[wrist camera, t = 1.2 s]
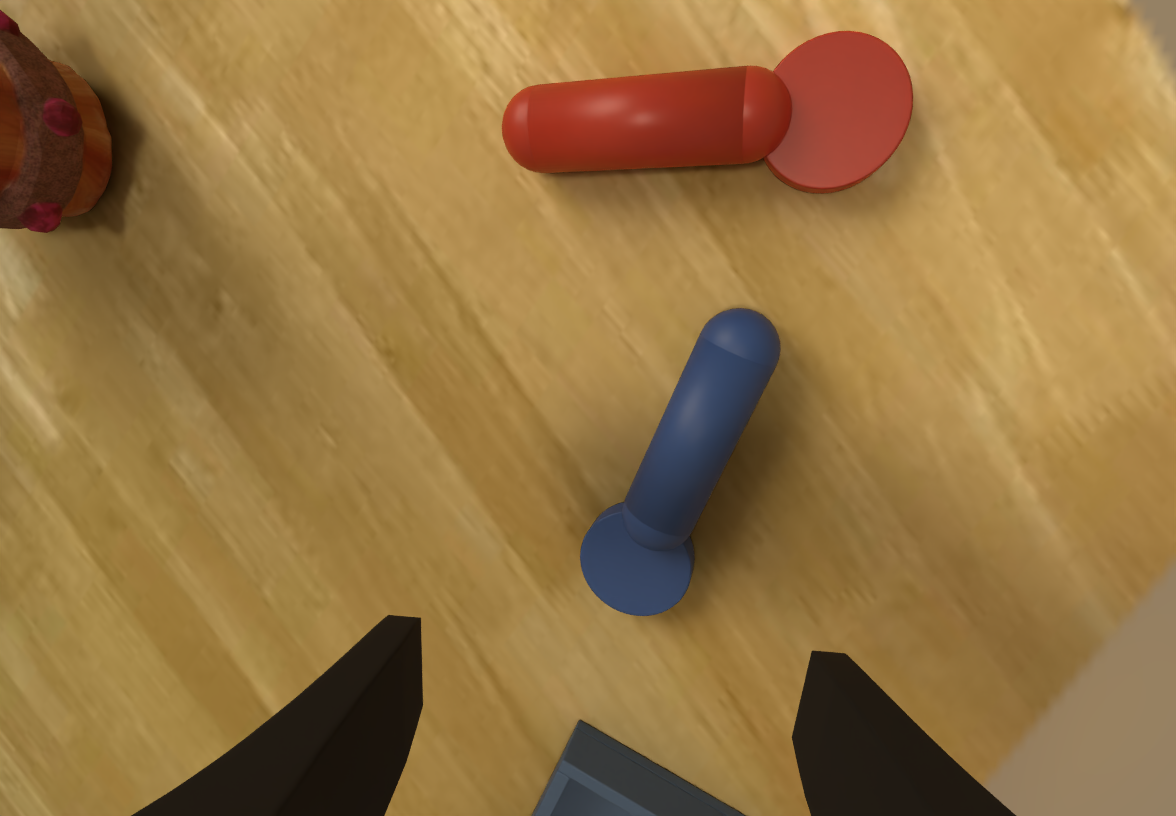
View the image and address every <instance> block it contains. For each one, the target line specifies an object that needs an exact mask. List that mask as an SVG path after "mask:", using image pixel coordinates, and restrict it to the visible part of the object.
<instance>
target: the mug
mask: <svg viewBox="0 0 1176 816" xmlns="http://www.w3.org/2000/svg"><path fill="white" fill-rule="evenodd" d="M111 170H112V145H111V136H110V133H109V131H108V129H107V125H106V119H105V116H104V113H103V110H102V107H101V104H100V101H99V98H98V97H97V96H96V94H95V93H94V92H93V90H92V89H91V88H90V86H89V85H88V84H87V82H86V81H85V80H84V79H83V78H82V77H80V76H79V75H78V74H77V73H75V71H74V70H73V69H71V68H70V67H69V66H67V65H64V64H61V63H58V62H54V61H51V60H49V59H47V57H46V56H45V55H44V54H43V53H42V52H41V51H40V50H39V49H38V48H37V47H36V46H35V45H34V44H33V43H32V42H31V41H30V40H29V39H28V38H27V37H25V36H24V35H23V34H22V33H21V32H20V30H19V27H18V24H17V23H16V22H14V21H13V20H12V19H11V18H10V17H8V16H7V15H6V14H5V13H4V12H2V11H1V10H0V228H8V229H22V228H28V229H29V230H31V231H36V232H44V233H48V232H50V231H53V230H55V229H56V228H57V227H58V226H59V225H60V222H61V217H62V216H65V217H68V216H78V215H80V214H83V213H86V212H88V211H89V210H91V209H92V208H93V207H94V206H95V205H96V203H97V202H98V200H99V198H100V197H101V195H102V194H103V192H104V191H105V189H106V186H107V183H108V181H109V178H110V174H111Z"/></svg>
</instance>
